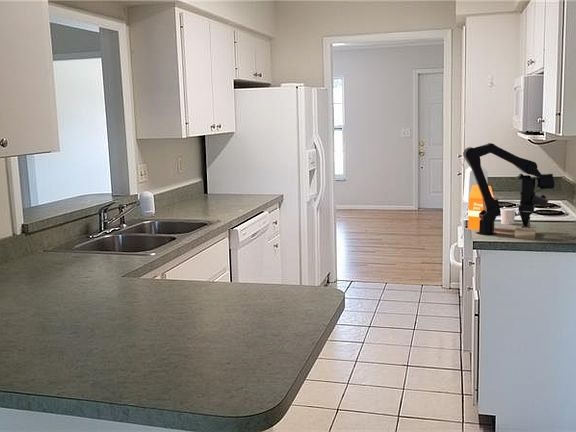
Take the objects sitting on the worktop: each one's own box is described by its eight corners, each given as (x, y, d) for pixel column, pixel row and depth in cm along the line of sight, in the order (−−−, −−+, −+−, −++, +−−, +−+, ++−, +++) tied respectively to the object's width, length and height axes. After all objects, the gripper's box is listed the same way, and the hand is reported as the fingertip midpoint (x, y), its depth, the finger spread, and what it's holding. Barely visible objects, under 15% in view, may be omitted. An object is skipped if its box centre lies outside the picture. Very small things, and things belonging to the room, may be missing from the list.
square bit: (529, 234, 275) (530, 217, 274) (521, 234, 276) (522, 217, 275) (529, 233, 278) (530, 216, 277) (522, 233, 279) (523, 216, 278)
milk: (487, 203, 376) (489, 159, 372) (468, 203, 376) (469, 159, 372) (481, 200, 388) (483, 158, 384) (463, 200, 388) (464, 158, 384)
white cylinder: (503, 222, 309) (503, 207, 308) (517, 223, 305) (517, 208, 303) (497, 223, 304) (498, 209, 303) (512, 225, 299) (512, 210, 298)
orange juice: (474, 226, 298) (476, 184, 294) (492, 228, 292) (494, 185, 289) (467, 228, 292) (469, 185, 288) (486, 230, 286) (487, 186, 283)
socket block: (534, 239, 265) (535, 232, 264) (514, 238, 268) (514, 231, 268) (535, 232, 280) (536, 226, 279) (516, 231, 283) (516, 225, 282)
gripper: (547, 192, 262) (545, 229, 265) (547, 187, 279) (546, 222, 282) (519, 191, 267) (517, 228, 269) (521, 187, 284) (519, 221, 286)
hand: (526, 224), depth 276 cm, fingers open, 9 cm apart
